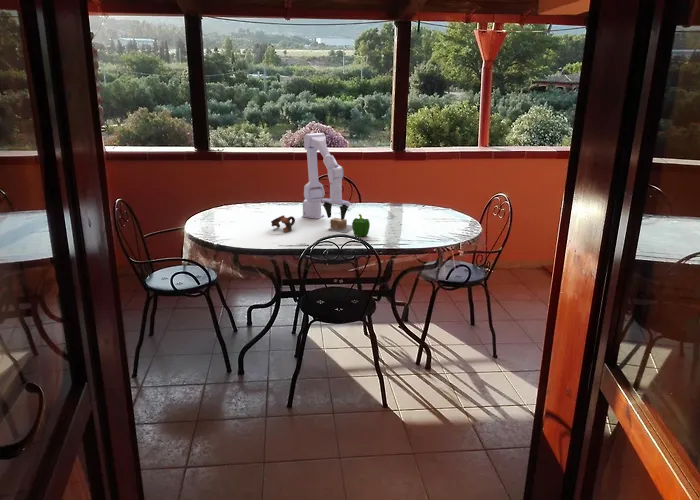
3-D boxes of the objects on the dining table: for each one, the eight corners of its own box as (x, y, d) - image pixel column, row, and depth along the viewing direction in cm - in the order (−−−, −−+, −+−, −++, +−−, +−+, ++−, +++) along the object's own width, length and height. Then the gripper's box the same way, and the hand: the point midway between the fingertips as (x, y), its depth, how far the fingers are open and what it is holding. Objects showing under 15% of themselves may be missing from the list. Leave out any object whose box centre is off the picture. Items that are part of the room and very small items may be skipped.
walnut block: (330, 219, 271) (342, 221, 268) (334, 217, 275) (346, 219, 272) (330, 227, 273) (342, 229, 270) (334, 225, 276) (346, 227, 273)
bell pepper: (368, 238, 256) (368, 218, 253) (350, 237, 258) (351, 217, 254) (370, 233, 264) (370, 213, 261) (353, 232, 265) (353, 212, 262)
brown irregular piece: (280, 235, 262) (272, 219, 262) (274, 238, 271) (266, 223, 270) (301, 225, 268) (293, 209, 268) (294, 228, 276) (286, 214, 276)
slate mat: (328, 230, 269) (328, 229, 269) (340, 224, 279) (340, 223, 279) (346, 233, 264) (346, 232, 264) (357, 226, 274) (357, 226, 274)
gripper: (318, 191, 267) (319, 218, 272) (345, 194, 261) (344, 222, 265) (326, 188, 273) (326, 215, 278) (351, 191, 267) (351, 218, 271)
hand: (336, 218), depth 272 cm, fingers open, 7 cm apart
